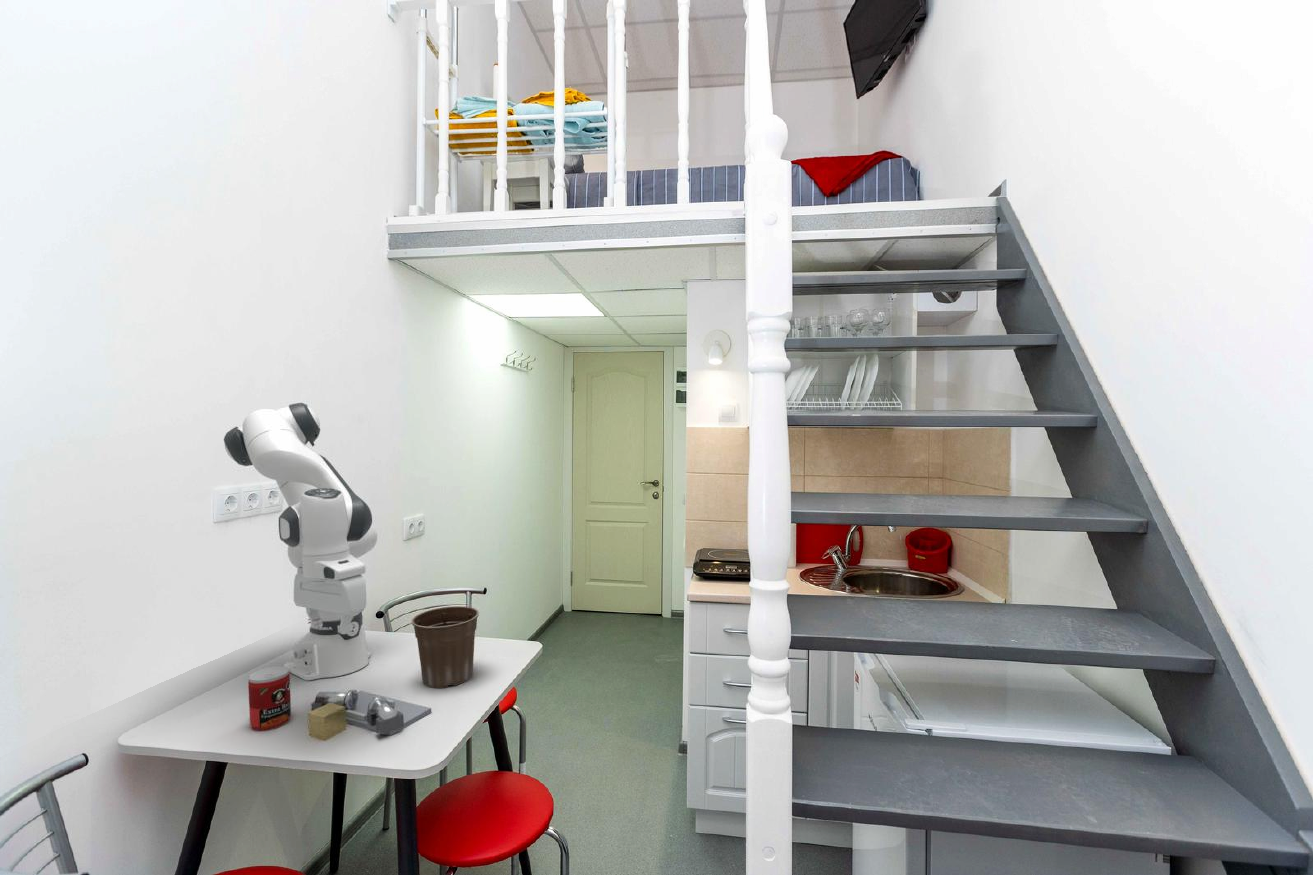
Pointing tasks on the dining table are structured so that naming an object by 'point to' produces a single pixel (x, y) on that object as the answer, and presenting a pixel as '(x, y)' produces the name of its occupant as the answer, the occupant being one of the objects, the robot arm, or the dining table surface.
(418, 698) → the dining table surface
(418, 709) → the grey base plate
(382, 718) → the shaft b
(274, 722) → the canned food
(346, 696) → the shaft
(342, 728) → the golden yellow cube
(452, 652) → the plant pot
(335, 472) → the robot arm
